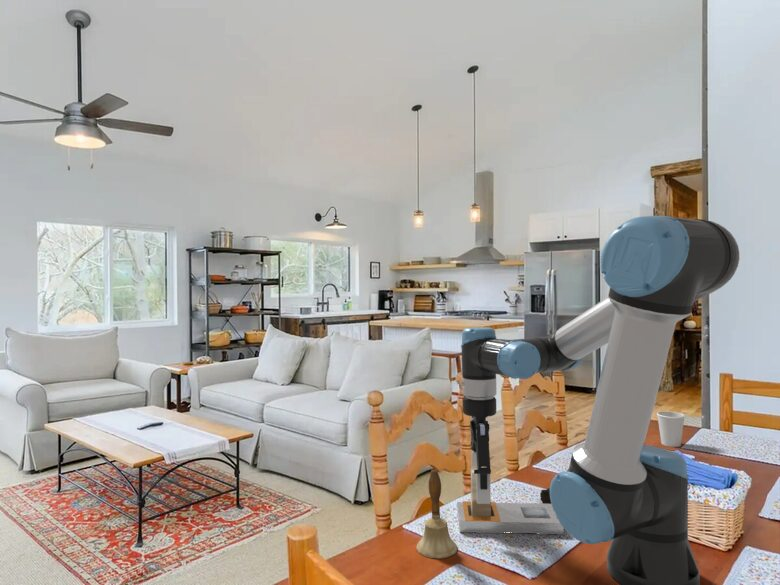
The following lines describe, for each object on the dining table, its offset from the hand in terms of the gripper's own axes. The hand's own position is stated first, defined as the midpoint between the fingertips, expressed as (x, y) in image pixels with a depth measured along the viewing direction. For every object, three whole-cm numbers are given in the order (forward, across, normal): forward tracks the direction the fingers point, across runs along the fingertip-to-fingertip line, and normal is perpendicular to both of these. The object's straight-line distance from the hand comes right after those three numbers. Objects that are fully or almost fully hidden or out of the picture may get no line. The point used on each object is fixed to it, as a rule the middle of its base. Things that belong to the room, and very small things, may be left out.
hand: (480, 490), depth 118 cm
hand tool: (+8, -17, +23) cm, 30 cm away
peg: (+7, 0, 0) cm, 7 cm away
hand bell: (+7, +12, -10) cm, 17 cm away
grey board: (+7, 0, +6) cm, 9 cm away
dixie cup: (+7, -61, +68) cm, 92 cm away
